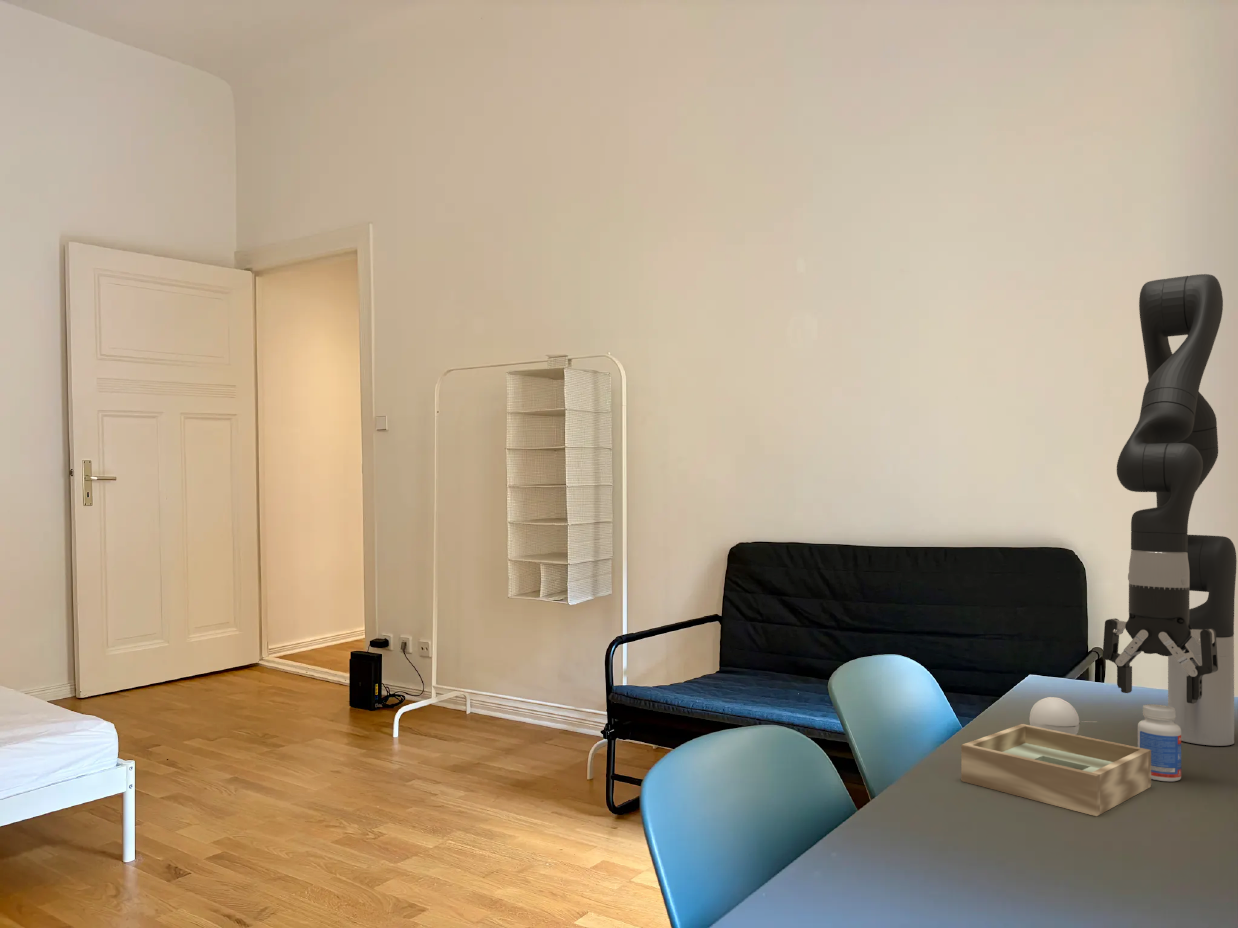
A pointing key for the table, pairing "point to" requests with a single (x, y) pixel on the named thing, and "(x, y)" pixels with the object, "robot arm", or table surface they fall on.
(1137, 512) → the robot arm
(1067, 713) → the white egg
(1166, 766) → the pill bottle
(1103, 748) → the bore box
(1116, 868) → the table surface
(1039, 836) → the table surface
